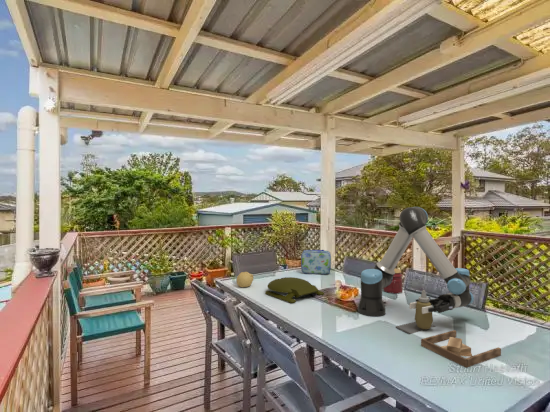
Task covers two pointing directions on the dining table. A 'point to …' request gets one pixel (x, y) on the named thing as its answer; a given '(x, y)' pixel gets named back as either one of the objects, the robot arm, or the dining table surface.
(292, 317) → the dining table surface
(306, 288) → the green turtle
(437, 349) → the walnut open frame
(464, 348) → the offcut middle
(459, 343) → the offcut top
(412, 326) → the charcoal mat
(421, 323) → the squeeze bottle
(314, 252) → the lunch box
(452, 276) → the robot arm
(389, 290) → the canister
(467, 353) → the offcut low
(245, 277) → the tan round lump
